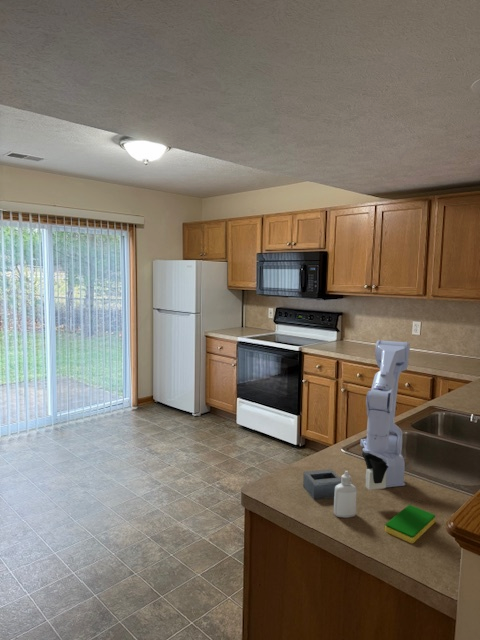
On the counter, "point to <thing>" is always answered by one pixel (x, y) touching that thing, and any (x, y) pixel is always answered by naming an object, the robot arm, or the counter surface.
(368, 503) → the counter surface
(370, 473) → the block
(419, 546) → the counter surface
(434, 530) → the counter surface
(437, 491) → the counter surface
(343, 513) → the eye dropper bottle
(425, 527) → the dish sponge
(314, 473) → the slot box
